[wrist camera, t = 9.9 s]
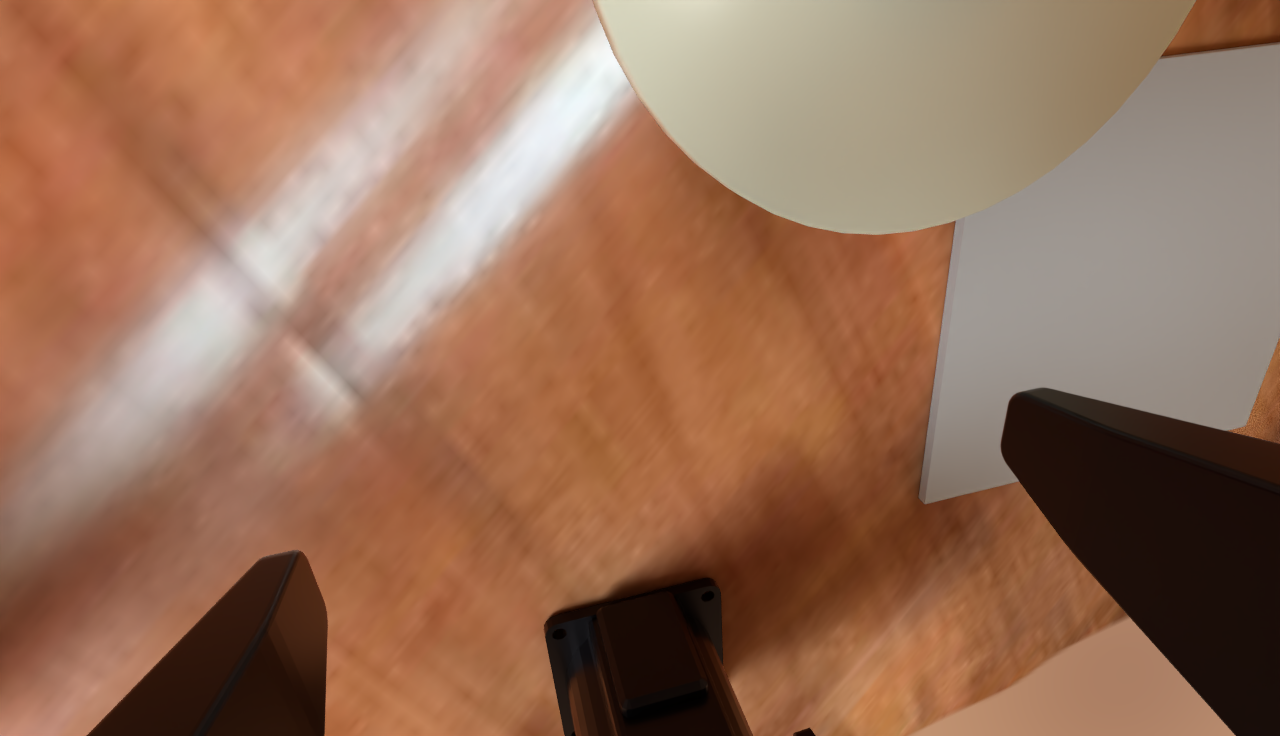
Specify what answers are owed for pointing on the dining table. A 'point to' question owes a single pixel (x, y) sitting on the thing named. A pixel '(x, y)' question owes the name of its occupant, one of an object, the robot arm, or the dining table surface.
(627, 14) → the cover
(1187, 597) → the robot arm
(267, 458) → the dining table surface
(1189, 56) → the mat
